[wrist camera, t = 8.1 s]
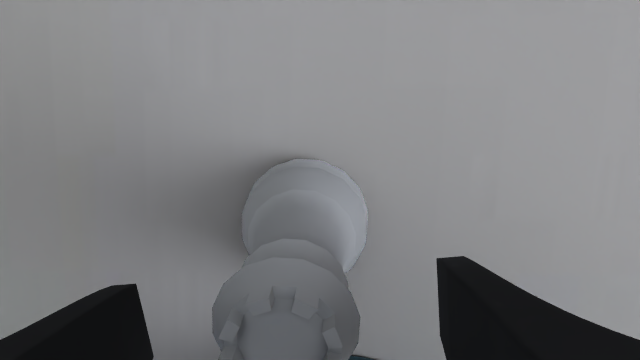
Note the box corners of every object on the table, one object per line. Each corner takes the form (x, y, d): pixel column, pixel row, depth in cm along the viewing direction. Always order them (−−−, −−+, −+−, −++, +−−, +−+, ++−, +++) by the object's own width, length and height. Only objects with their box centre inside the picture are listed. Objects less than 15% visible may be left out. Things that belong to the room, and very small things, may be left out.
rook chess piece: (374, 262, 17) (403, 434, 9) (258, 275, 17) (195, 452, 10) (359, 146, 16) (380, 236, 8) (236, 163, 16) (144, 264, 9)
